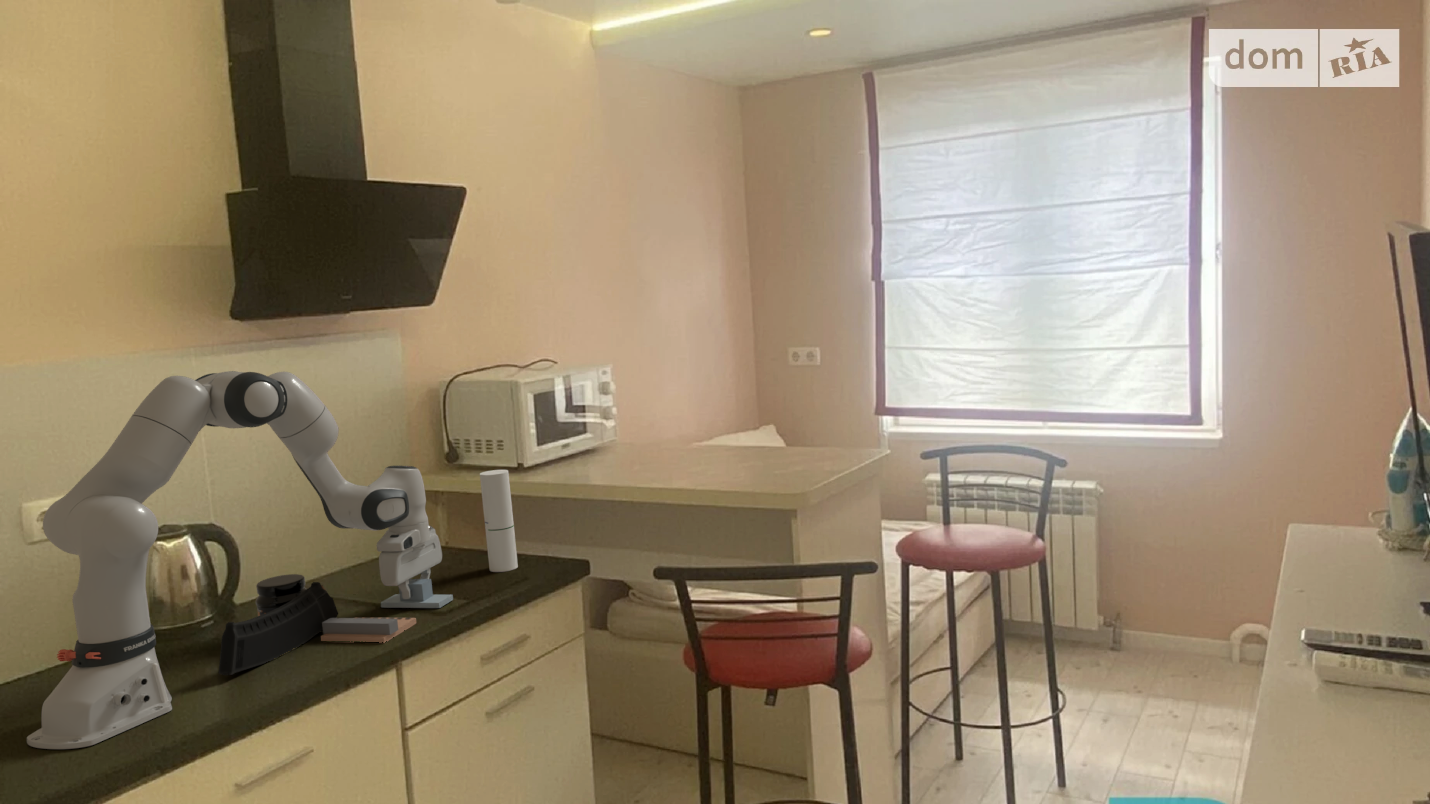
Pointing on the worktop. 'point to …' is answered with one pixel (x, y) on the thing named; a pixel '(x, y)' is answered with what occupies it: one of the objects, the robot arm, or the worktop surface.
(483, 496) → the cylindrical container
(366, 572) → the worktop surface
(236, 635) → the magazine
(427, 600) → the grey plate with knob
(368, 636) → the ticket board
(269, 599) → the supplement container
